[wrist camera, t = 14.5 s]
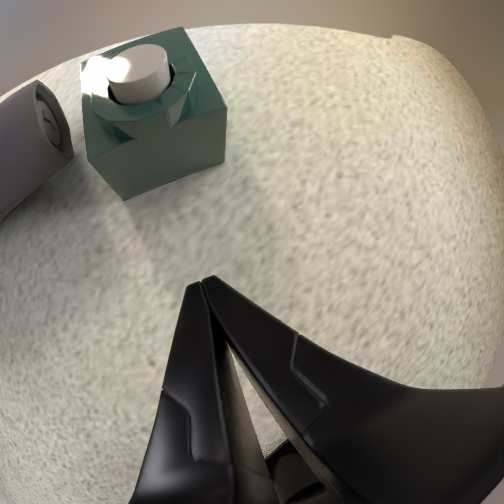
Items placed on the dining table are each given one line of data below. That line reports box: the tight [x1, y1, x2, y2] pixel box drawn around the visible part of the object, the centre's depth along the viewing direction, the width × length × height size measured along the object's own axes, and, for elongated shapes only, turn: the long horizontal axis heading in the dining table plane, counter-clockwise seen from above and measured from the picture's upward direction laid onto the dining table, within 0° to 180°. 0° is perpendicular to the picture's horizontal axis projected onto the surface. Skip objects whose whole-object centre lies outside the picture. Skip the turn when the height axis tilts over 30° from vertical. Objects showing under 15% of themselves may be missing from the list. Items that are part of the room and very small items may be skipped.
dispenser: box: [81, 27, 227, 201], centre depth 18 cm, size 11×9×9 cm
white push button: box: [105, 44, 171, 105], centre depth 12 cm, size 4×4×2 cm
